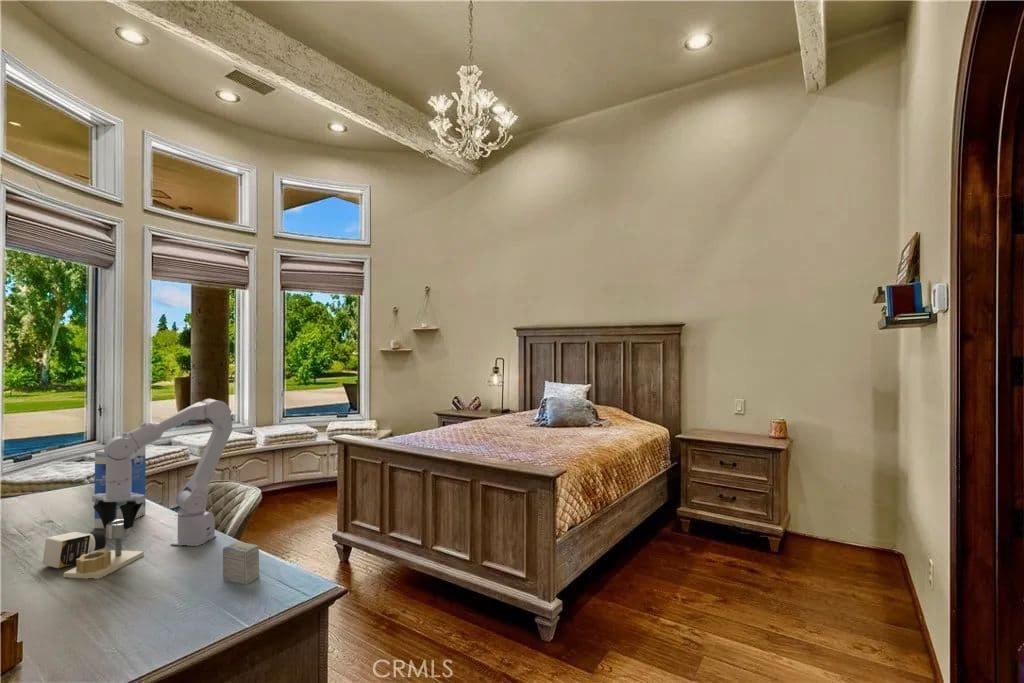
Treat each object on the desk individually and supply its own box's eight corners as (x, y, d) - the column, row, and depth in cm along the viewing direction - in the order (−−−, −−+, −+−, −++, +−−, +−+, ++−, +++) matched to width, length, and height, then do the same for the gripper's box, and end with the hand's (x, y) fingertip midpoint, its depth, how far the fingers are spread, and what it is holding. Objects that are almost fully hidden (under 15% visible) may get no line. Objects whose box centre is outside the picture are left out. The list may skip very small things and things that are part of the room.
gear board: (143, 555, 140) (144, 536, 140) (98, 578, 126) (99, 557, 126) (111, 554, 141) (112, 535, 141) (63, 577, 127) (63, 556, 127)
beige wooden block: (259, 577, 127) (259, 544, 127) (245, 585, 123) (245, 551, 123) (237, 573, 130) (237, 540, 130) (222, 580, 125) (222, 547, 125)
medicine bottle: (61, 541, 131) (110, 530, 142) (45, 537, 133) (95, 527, 145) (57, 568, 130) (107, 555, 141) (41, 564, 133) (92, 552, 144)
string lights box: (126, 514, 174) (126, 442, 174) (147, 515, 173) (147, 443, 173) (93, 528, 160) (93, 451, 160) (115, 529, 160) (115, 451, 160)
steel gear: (135, 531, 140) (136, 519, 140) (119, 539, 135) (120, 526, 135) (116, 530, 140) (117, 518, 140) (100, 538, 135) (101, 525, 135)
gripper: (81, 483, 134) (81, 532, 134) (130, 484, 133) (130, 533, 133) (105, 476, 141) (104, 522, 141) (151, 477, 140) (151, 524, 140)
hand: (118, 527), depth 137 cm, fingers closed on steel gear, 6 cm apart
